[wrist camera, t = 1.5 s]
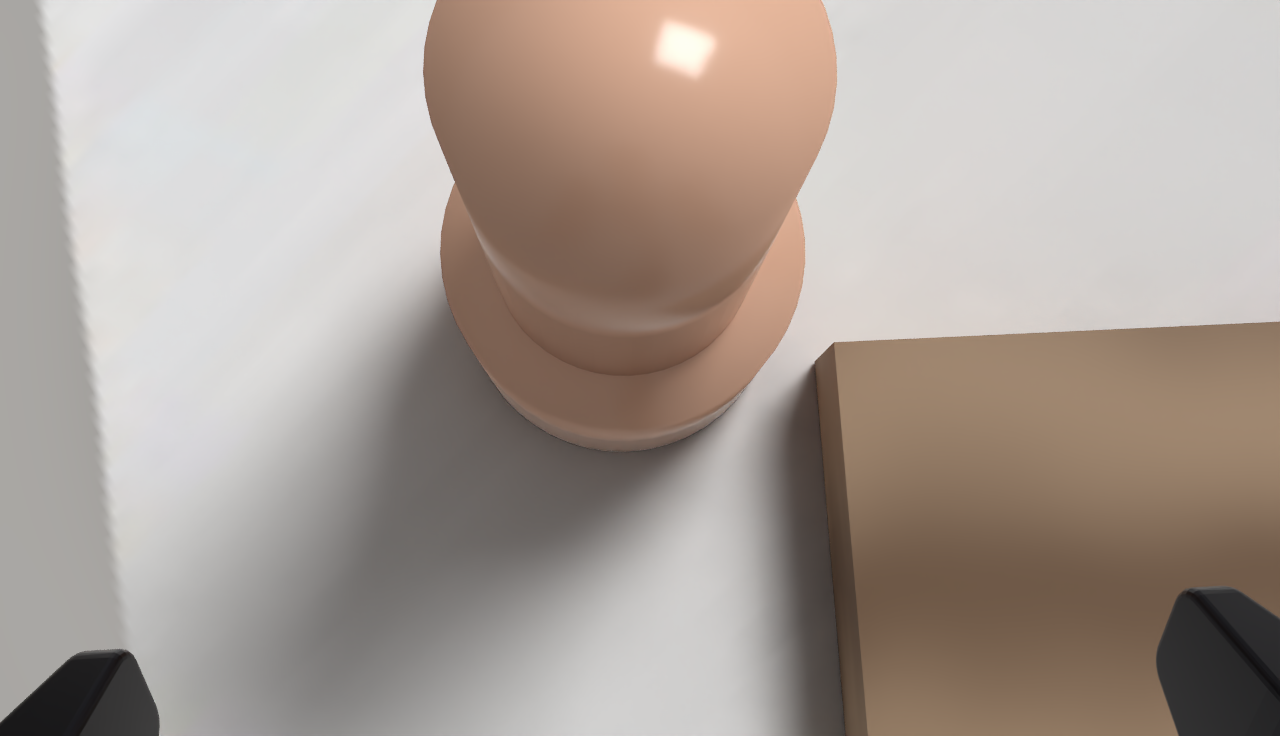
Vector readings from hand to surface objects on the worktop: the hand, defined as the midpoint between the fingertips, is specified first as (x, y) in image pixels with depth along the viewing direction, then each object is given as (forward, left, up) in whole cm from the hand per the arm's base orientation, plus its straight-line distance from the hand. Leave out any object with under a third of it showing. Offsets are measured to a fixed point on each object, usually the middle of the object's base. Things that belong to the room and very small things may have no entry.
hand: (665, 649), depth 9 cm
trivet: (-1, -10, -12) cm, 16 cm away
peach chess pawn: (+6, 0, -13) cm, 14 cm away
